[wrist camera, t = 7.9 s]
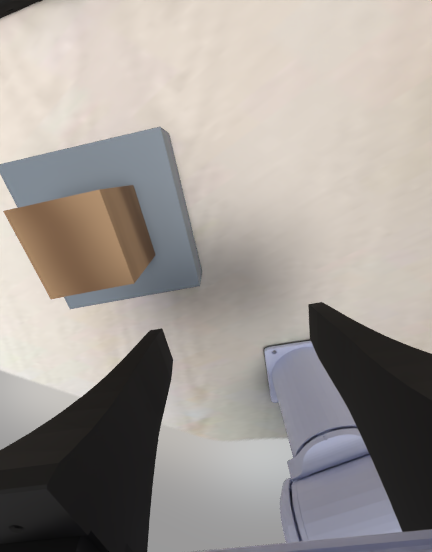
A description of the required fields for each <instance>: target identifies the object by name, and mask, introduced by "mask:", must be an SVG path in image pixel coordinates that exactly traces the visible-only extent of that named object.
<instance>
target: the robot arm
mask: <svg viewBox="0 0 432 552" xmlns="http://www.w3.org/2000/svg"><path fill="white" fill-rule="evenodd" d="M309 327H310V340H311V341H304V342H298V343H291V344H285V345H278V346H271V347H267V348H265V350H264V354H265V361H266V368H267V375H268V382H269V389H270V396H271V401H272V402H274V403H278V402H279V406H280V410H281V413H282V417H283V421H284V424H285V428H286V432H287V436H288V439H289V443H290V446H291V450H292V454H293V459H291V460H288V462H287V463H288V467H289V471H290V475H291V478H289V479H286V480H285V481H284V483H283V486H282V493H281V497H280V513H281V521H282V526H283V531H284V536H285V540H286V543H279V544H268V545H257V546H247V547H236V548H225V549H215V550H205V551H193V552H432V354H430V353H427V352H424V351H422V350H419V349H416V348H413V347H411V346H408V345H406V344H403V343H401V342H398V341H396V340H393V339H391V338H389V337H386V336H384V335H382V334H380V333H378V332H376V331H374V330H372V329H370V328H368V327H366V326H364V325H362V324H360V323H358V322H356V321H354V320H352V319H351V318H349V317H347V316H345V315H343V314H342V313H340V312H338V311H336V310H335V309H333V308H331V307H330V306H328V305H326V304H324V303H322V302H320V303H314V304H309ZM274 350H276V351H274ZM272 351H274V352H272ZM172 366H173V358H172V356H171V353H170V350H169V347H168V344H167V341H166V338H165V335H164V332H163V330H162V329H156V330H150V331H149V332H148V333H147V334H146V335H145V336H144V337H143V339H142V340H141V341H140V342H139V343H138V344H137V345H136V346H135V347H134V348H133V349H132V350H131V351H130V353H129V354H128V355H127V356H126V357H125V358H124V359H123V360H122V361H121V362H120V363H119V364H118V365H117V366H116V367H115V368H114V369H113V370H112V371H111V372H110V373H109V374H108V375H107V376H106V377H105V378H103V379H102V380H101V381H100V382H99V383H98V384H97V385H95V386H94V387H93V388H92V389H91V390H90V391H88V392H87V393H86V394H85V395H83V396H82V397H81V398H79V399H78V400H77V401H75V402H74V403H73V404H72V405H70V406H69V407H68V408H66V409H65V410H64V411H62V412H61V413H59V414H58V415H57V416H55V417H54V418H52V419H51V420H49V421H48V422H46V423H45V424H43V425H42V426H40V427H38V428H37V429H35V430H34V431H32V432H31V433H29V434H28V435H26V436H24V437H22V438H21V439H19V440H17V441H16V442H14V443H12V444H10V445H9V446H7V447H5V448H4V449H2V450H0V552H147V546H148V531H149V517H150V506H151V496H152V485H153V476H154V467H155V459H156V451H157V444H158V436H159V431H160V426H161V421H162V417H163V413H164V408H165V404H166V400H167V396H168V391H169V387H170V382H171V376H172Z"/></svg>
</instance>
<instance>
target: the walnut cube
mask: <svg viewBox="0 0 432 552" xmlns="http://www.w3.org/2000/svg"><path fill="white" fill-rule="evenodd" d="M4 213H5V215H6V217H7V219H8V221H9V223H10V224H11V226H12V228H13V230H14V232H15V234H16V236H17V237H18V239H19V241H20V243H21V245H22V247H23V248H24V250H25V252H26V254H27V256H28V258H29V260H30V261H31V263H32V265H33V267H34V269H35V271H36V273H37V274H38V276H39V278H40V280H41V282H42V284H43V286H44V287H45V289H46V291H47V293H48V295H49V297H50V299H55V298H60V297H65V296H71V295H76V294H81V293H87V292H92V291H97V290H103V289H108V288H113V287H119V286H124V285H129V284H134V283H135V282H136V281H137V279H138V278H139V277H140V275H141V274H142V273H143V271H144V270H145V269H146V267H147V266H148V265H149V263H150V262H151V261H152V259H153V258H154V257H155V251H154V248H153V245H152V242H151V239H150V236H149V233H148V229H147V226H146V223H145V220H144V217H143V214H142V211H141V207H140V204H139V201H138V198H137V195H136V192H135V189H134V185H129V186H121V187H114V188H107V189H99V190H95V191H90V192H86V193H81V194H77V195H73V196H68V197H64V198H59V199H55V200H50V201H46V202H41V203H37V204H33V205H28V206H24V207H19V208H15V209H10V210H6V211H4Z"/></svg>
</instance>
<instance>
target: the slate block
mask: <svg viewBox="0 0 432 552" xmlns="http://www.w3.org/2000/svg"><path fill="white" fill-rule="evenodd" d="M0 174H1V176H2V178H3V180H4V182H5V184H6V186H7V188H8V190H9V192H10V194H11V195H12V197H13V199H14V201H15V203H16V205H17V207H18V208H19V207H24V206H28V205H33V204H37V203H41V202H46V201H50V200H55V199H59V198H64V197H68V196H73V195H77V194H81V193H86V192H90V191H95V190H99V189H107V188H114V187H121V186H129V185H134V189H135V192H136V195H137V198H138V201H139V204H140V207H141V211H142V214H143V217H144V220H145V223H146V226H147V229H148V233H149V236H150V239H151V242H152V245H153V248H154V251H155V257H154V258H153V259H152V261H151V262H150V263H149V265H148V266H147V267H146V269H145V270H144V271H143V273H142V274H141V275H140V277H139V278H138V279H137V281H136V282H135V283H134V284H129V285H124V286H119V287H113V288H108V289H103V290H97V291H92V292H87V293H81V294H76V295H71V296H65V297H64V298H65V300H66V302H67V304H68V306H69V308H70V309H74V308H79V307H85V306H90V305H96V304H101V303H107V302H113V301H118V300H124V299H129V298H135V297H140V296H146V295H152V294H157V293H163V292H168V291H174V290H180V289H185V288H191V287H196V286H200V282H201V275H202V269H201V265H200V261H199V256H198V252H197V248H196V244H195V240H194V236H193V231H192V227H191V223H190V219H189V215H188V211H187V206H186V202H185V198H184V194H183V190H182V185H181V181H180V177H179V173H178V169H177V165H176V160H175V156H174V152H173V148H172V144H171V140H170V135H169V133H168V132H166V131H165V130H164V129H163V128H161V127H157V128H152V129H148V130H144V131H140V132H135V133H131V134H127V135H123V136H118V137H114V138H110V139H106V140H101V141H97V142H93V143H89V144H84V145H80V146H76V147H72V148H67V149H63V150H59V151H55V152H50V153H46V154H42V155H38V156H33V157H29V158H25V159H21V160H16V161H12V162H8V163H4V164H0Z"/></svg>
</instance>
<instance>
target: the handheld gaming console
mask: <svg viewBox="0 0 432 552" xmlns="http://www.w3.org/2000/svg"><path fill="white" fill-rule="evenodd" d="M38 1H39V2H40V1H42V0H0V18H2V17H4V16H7V15H9V14H11V13H14V12H16V11H18V10H20V9H23V8H25V7H27V6H29V5H32V4H34V3H36V2H38Z"/></svg>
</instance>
